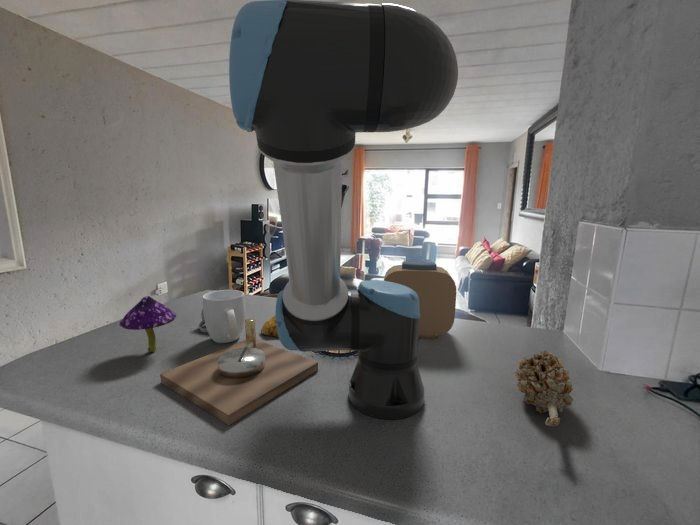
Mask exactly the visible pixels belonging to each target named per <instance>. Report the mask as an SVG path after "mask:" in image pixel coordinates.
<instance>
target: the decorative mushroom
mask: <svg viewBox="0 0 700 525" xmlns="http://www.w3.org/2000/svg"><path fill="white" fill-rule="evenodd" d="M176 318H177V314H176V312H174V311H173V310H172V309H170V308H169V307H168V306H166V305H164V304H163V303H161V302H159V301H158V300H156V299H154V298H153V297H151V296H149V295H144V296H143V297H142V298H141V300H140V301H139V302H137V303H136V304H135V305H134V306H133V307H132V308H130V309H129V311H128V312H127V313H126V314H125V315H124V317H123V318H122V319H121V320H120V322H119V326H120V327H122V328H123V329H126V330H133V331H136V330H137V331H138V330H145V333H146V335H147V340H148V347H147V352H150V353H153V352H156V351H157V344H156V343H157V339H156V334H155V331H154V329H155V328H159V327H162V326H165V325H167V324H170V323H172V322H174V320H175V319H176Z"/></svg>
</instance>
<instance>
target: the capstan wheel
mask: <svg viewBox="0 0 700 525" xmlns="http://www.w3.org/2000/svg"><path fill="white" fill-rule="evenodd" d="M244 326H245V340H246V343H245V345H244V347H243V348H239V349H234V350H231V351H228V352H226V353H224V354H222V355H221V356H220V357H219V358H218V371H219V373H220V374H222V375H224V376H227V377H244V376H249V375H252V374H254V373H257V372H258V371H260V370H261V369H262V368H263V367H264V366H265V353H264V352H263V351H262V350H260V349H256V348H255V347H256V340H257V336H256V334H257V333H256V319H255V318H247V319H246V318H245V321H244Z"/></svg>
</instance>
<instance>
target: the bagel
mask: <svg viewBox="0 0 700 525" xmlns="http://www.w3.org/2000/svg"><path fill="white" fill-rule="evenodd" d="M260 333H261V334H263V335H265V336H269V337H271V336H274V337H275V338H279V336H278V332H277V322H276V315H275V314H274V315H273V316H271V318H269V319H268V320H266V321H265V322H264V324H263V325H262V327H261V329H260Z"/></svg>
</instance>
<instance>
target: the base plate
mask: <svg viewBox="0 0 700 525" xmlns="http://www.w3.org/2000/svg"><path fill="white" fill-rule="evenodd" d="M245 343H246V339H244V340H241V341H239V342H236V343H233V344H231V345H228V346H227V347H224V348H222V349H220V350H217V351H214V352H211V353H208V354H206V355H204V356H202V357H199V358H197V359H194V360H191V361H188V362H186V363H183V364H181V365H179V366H176V367H174V368H172V369H168V370H166V371H164V372H162V373H160V374H159V375H160V377H159V378H160V383H162V384H163V385H165V386H166V387H168V388H169V389H170V390H172V391H174V392H175V393H178V394H179V395H180V396H182V397H184V398H185V399H187V400H189V401H190V402H191V403H193V404H194V405H196V406H198V407H199V408H201V409H202V410H204V411H206V412H207V413H208V414H210V415H212V416H214V417H215V418H217V419H218V420H219V421H221V422H223V423H225V424H226V425H228V426H231V425H232V424H234V423H235V422H237V421H239V420H240V419H242V418H243V417H245V416H247V415H248V414H250V413H251V412H253V411H255V410H257V409H258V408H259V407H262V406H263V405H264V404H266V403H268V402H269V401H271V400H272V399H274V398H276V397H278V396H279V395H281V394H282V393H284V392H285V391H288V388H289V389H290V388H292V387H293V386H295V385H297V384H298V383H300V382H301V381H303V380H305V379H306V378H309V377H310V376H311V375H313V374H315V373H316V372H318V371H319V362H318V361H316V360H314V359H311V358H308V357H305V356H302V355H299V354H297V353H294V352H292V351H290V350H287V349H286V350H285V349H283V348H281V347H278V346H275V345H273V344H270V343H267V342H264V341H261V340H258V339H256V347H255V348H256V349H260V350H262V351H263V352H264V353H265V366H264V367H263V368H262V369H261V370H260V371H258V372H257V373H254V374H252V375H249V376H244V377H227V376H224V375H222V374H220V373H219V371H218V358H219V357H220V356H221V355H222V354H224V353H226V352H228V351H231V350H234V349H239V348H243V347H244V345H245ZM309 375H310V376H309Z"/></svg>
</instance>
